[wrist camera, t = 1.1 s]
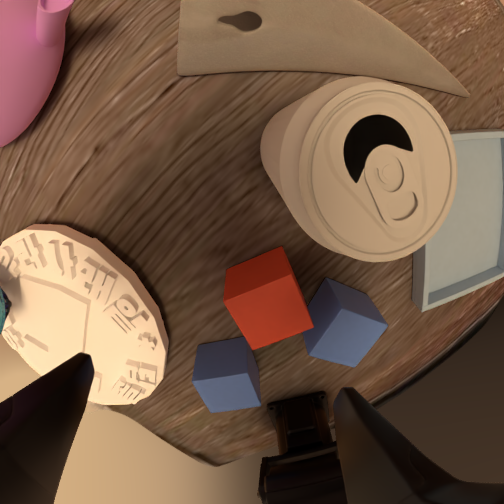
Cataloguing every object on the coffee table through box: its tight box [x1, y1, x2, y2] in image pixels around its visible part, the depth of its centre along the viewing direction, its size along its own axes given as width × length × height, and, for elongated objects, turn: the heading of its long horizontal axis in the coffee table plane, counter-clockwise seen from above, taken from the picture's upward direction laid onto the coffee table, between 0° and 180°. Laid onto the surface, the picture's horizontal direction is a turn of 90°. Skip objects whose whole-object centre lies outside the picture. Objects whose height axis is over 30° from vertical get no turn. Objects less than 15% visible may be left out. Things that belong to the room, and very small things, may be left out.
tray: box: [412, 129, 504, 312], centre depth 20 cm, size 15×12×2 cm
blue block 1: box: [192, 337, 261, 413], centre depth 23 cm, size 4×4×4 cm
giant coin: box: [0, 223, 169, 405], centre depth 22 cm, size 20×20×3 cm
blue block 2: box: [302, 277, 388, 367], centre depth 21 cm, size 4×4×4 cm
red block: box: [223, 246, 314, 350], centre depth 20 cm, size 4×4×4 cm
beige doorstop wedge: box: [177, 0, 470, 97], centre depth 14 cm, size 10×8×22 cm
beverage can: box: [260, 76, 458, 262], centre depth 13 cm, size 6×6×12 cm
